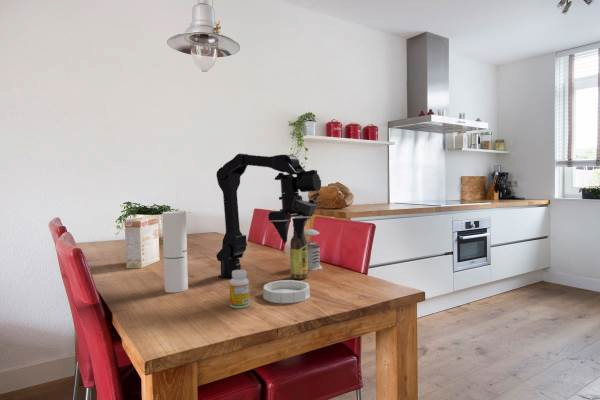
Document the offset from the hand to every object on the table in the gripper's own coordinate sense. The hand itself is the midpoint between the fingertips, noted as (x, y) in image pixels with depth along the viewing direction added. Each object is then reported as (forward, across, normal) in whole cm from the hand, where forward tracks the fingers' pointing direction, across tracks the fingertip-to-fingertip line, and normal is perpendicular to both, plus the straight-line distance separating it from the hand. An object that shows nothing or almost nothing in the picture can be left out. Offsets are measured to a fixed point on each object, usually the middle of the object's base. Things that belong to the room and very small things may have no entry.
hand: (292, 240), depth 127 cm
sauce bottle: (+15, +10, +4) cm, 18 cm away
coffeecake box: (+10, -2, +74) cm, 74 cm away
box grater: (+14, +25, +9) cm, 30 cm away
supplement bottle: (+16, -24, +4) cm, 29 cm away
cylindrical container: (+14, -21, +32) cm, 41 cm away
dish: (+15, -10, -3) cm, 19 cm away
